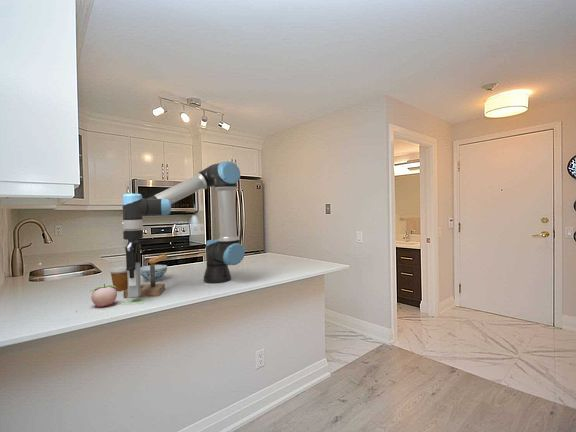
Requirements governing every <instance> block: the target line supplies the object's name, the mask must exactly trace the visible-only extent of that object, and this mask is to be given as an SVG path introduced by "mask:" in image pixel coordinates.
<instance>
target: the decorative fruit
mask: <svg viewBox="0 0 576 432" xmlns="http://www.w3.org/2000/svg"><path fill="white" fill-rule="evenodd" d="M114 287H115V288H117V287H116V286H113V284H112V285H106V284H105V283H104V284H103V286H97V287H95V288H93V289H92V290H91V297H90V300H91V302H92V303H93V304H94V305H95V306H97V307H99V308H104V307H109V306H111V305H112V304H113V303H115V302H116V299H117V297H118V291H116V289H115V288H114Z"/></svg>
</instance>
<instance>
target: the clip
mask: <svg viewBox="0 0 576 432" xmlns="http://www.w3.org/2000/svg"><path fill="white" fill-rule="evenodd" d="M167 258H168V254H160V255H157V256H155V257H152V258H149V259H148V264H150V263H155V264H156V263H158V262H161V261H163V260H166V259H167Z"/></svg>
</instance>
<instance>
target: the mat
mask: <svg viewBox="0 0 576 432" xmlns="http://www.w3.org/2000/svg"><path fill="white" fill-rule="evenodd" d="M147 300H149V297H138V298H126V300H124V301H123V302H122V303H121V304H120V306H129V305H130V306H131V305H142V304H143V305H144V303H146V301H147Z"/></svg>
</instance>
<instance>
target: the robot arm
mask: <svg viewBox="0 0 576 432" xmlns="http://www.w3.org/2000/svg"><path fill="white" fill-rule="evenodd" d="M240 179H241V171H240V168H239V167H238V165H237V164H236V163H235V162H233V161H220V162H219V163H214V164H211V165H209V166H207V167H206V168H204V169H202V170H200V171H198V172H197V173H195V175H194V176H192V177H190V178H189V179H186V180H184V181H182V182H180V183H177V184H176V185H173V186H171V187H169V188H166V189H165V190H163V191H161V192H159V193H156V194H154V195H153V196H150V197H148V198H143V195H142V194H141V193H124V194H123V196H122V204H121V205H122V222H121V225H122V227H123V229H122V230H123V231H122V235H123V237H122V239H123V240H127V244H126V246H125V247H124V250H125V262H126V265H125V266H126V271H129V286H136V270H135V263H140V267H142V262H141V261H142V259H141V257H142V256H141V255H142V253H141V250H142V249H141V248H142V244H141V242H139V240H141V239H143V238H144V231H143V230H142V229H144V225H143V223H144V222H143V221H144V220H143V217H144V216H145V217H146V216H162V217H163V216H168V215H170V214H171V211H172V204H175V203H176V202H178V201H180V200H182V199H185V198H186V197H188V196H190V195H192V194H194V193H196V192H198V191H201V190H206V189H208V188H211V187H214V190H216V192H217V202H218V216H219V233H220V234H219V235H220V237H219V238H218V239H209V240H206V243H205V253H206V255H205V256H206V257H205V259H206V267H205V272H204V274H203V283H204V282H205V283H209V284H218V283H219V284H220V283H227V282H229V281H231V280H232V275H231V272H230V269H229V266H237V265H238V264H239V265H240V263H242V260H244V259H245V258H244V257H245V252H246V250H245V248H244V246H243V245H242V244H241V238H240V237H239V236H238V233H237V217H236V216H237V215H236V199H235V198H236V197H235V191H236V190H237V188H238V181H239V180H240Z"/></svg>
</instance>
